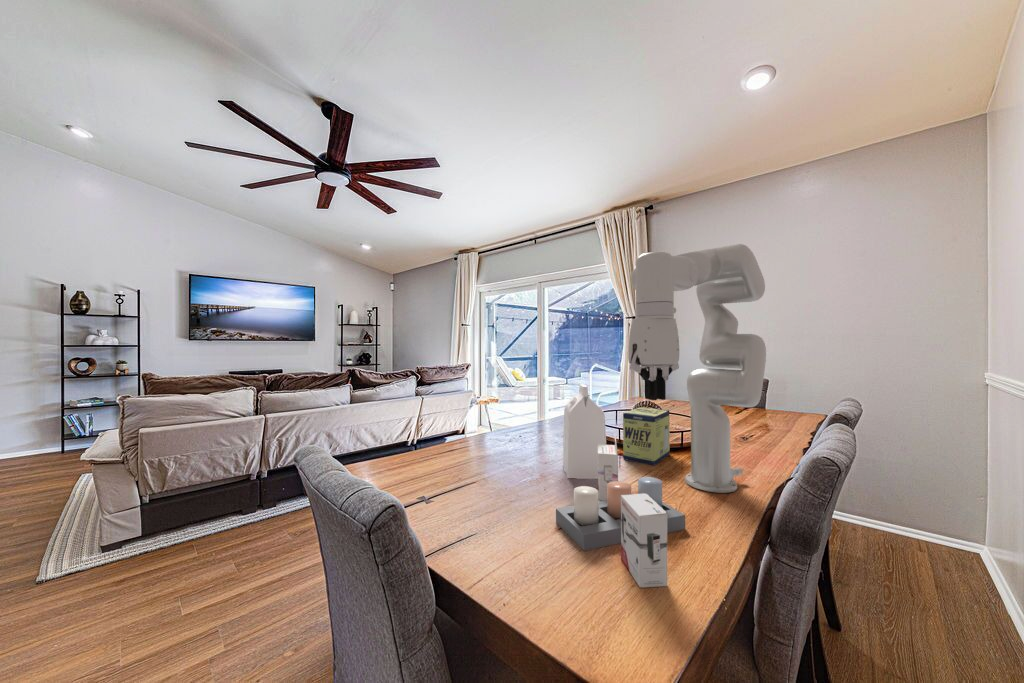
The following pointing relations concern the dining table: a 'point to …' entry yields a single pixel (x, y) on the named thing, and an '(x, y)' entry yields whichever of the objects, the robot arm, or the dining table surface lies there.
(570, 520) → the gray compartment tray
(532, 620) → the dining table surface
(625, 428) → the protein box
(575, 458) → the milk
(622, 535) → the ink box
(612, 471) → the ink cartridge box
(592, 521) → the button cream
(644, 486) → the button slate
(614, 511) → the peach cylinder
